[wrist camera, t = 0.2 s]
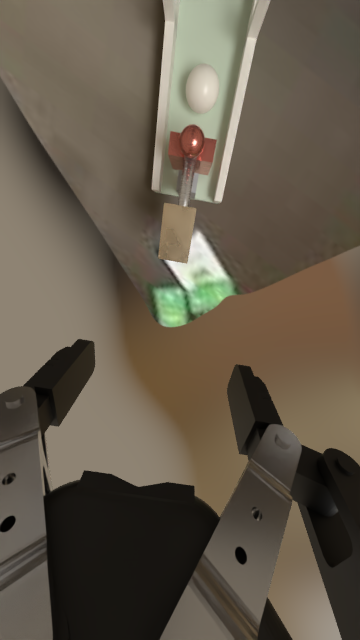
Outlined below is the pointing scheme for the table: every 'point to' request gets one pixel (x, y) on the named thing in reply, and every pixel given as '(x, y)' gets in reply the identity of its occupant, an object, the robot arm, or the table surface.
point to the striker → (184, 190)
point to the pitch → (232, 69)
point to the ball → (202, 88)
